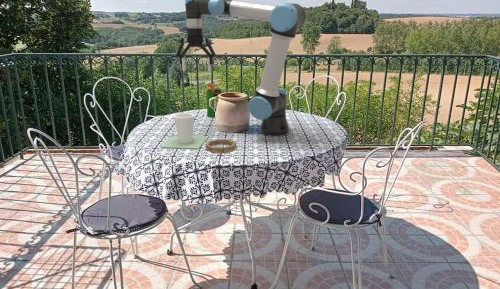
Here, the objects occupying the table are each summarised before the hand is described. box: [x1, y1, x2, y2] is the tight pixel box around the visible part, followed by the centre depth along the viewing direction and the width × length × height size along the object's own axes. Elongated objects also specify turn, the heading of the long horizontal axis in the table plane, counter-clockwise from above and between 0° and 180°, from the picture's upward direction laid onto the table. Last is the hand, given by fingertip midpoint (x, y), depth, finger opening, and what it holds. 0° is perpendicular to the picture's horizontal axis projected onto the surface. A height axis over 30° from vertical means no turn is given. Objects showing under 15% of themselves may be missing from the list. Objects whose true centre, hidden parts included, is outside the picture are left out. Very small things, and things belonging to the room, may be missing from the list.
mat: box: [161, 135, 209, 150], centre depth 191 cm, size 18×18×1 cm
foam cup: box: [173, 112, 195, 144], centre depth 189 cm, size 10×9×13 cm
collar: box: [205, 138, 237, 154], centre depth 182 cm, size 13×13×2 cm
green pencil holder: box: [205, 82, 222, 119], centre depth 238 cm, size 10×9×20 cm
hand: (196, 70), depth 201 cm, fingers open, 13 cm apart
